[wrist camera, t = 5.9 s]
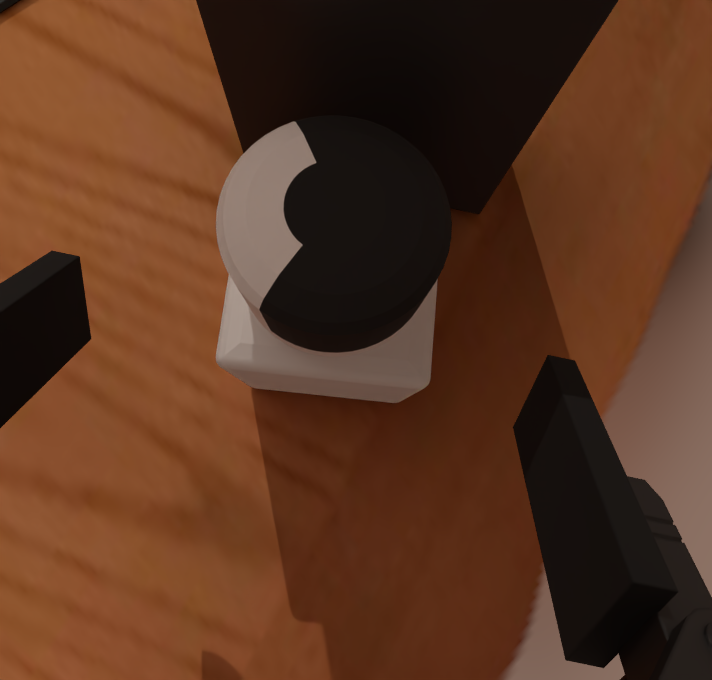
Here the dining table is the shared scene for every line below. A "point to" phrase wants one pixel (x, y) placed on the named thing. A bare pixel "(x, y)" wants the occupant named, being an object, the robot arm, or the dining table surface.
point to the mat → (6, 4)
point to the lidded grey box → (405, 72)
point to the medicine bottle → (332, 261)
